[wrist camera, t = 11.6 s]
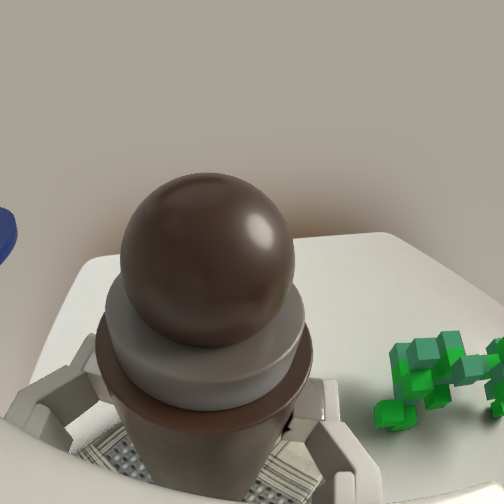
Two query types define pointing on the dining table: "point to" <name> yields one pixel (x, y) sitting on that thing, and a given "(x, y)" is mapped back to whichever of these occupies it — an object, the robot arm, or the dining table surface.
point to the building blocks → (438, 377)
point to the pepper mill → (205, 334)
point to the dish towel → (261, 492)
